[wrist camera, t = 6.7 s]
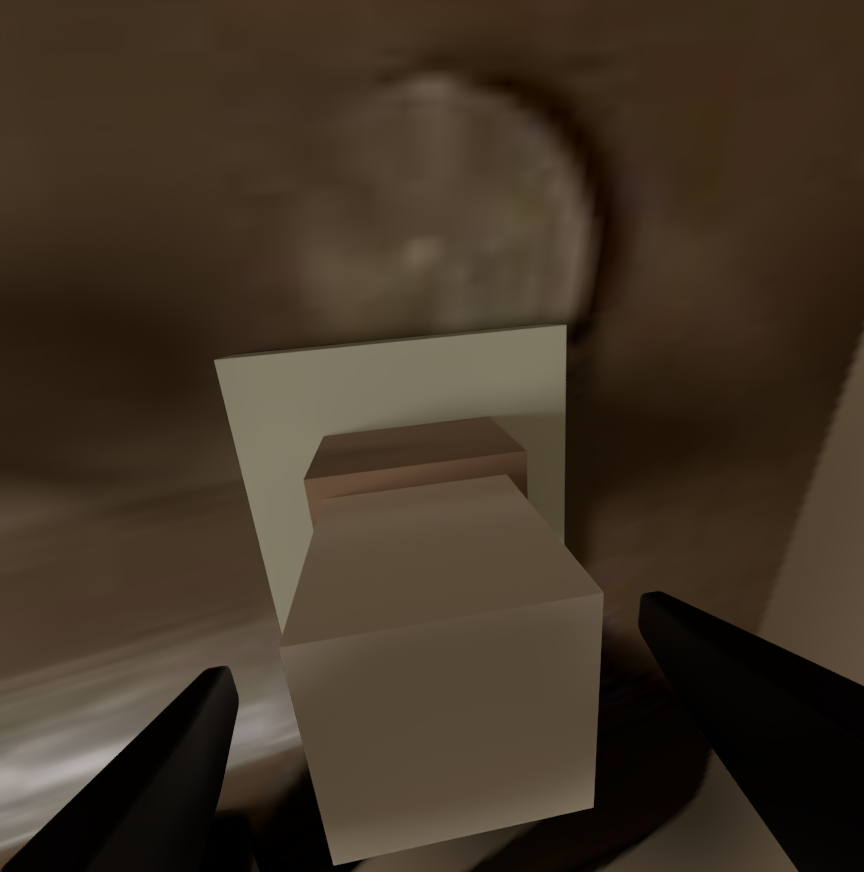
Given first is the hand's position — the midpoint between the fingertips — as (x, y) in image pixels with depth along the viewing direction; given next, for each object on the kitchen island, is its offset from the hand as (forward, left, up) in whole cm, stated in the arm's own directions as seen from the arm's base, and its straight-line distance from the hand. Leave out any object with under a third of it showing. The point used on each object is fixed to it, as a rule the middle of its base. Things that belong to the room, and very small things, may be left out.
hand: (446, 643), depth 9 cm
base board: (0, 0, -9) cm, 9 cm away
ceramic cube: (0, 0, -3) cm, 3 cm away
